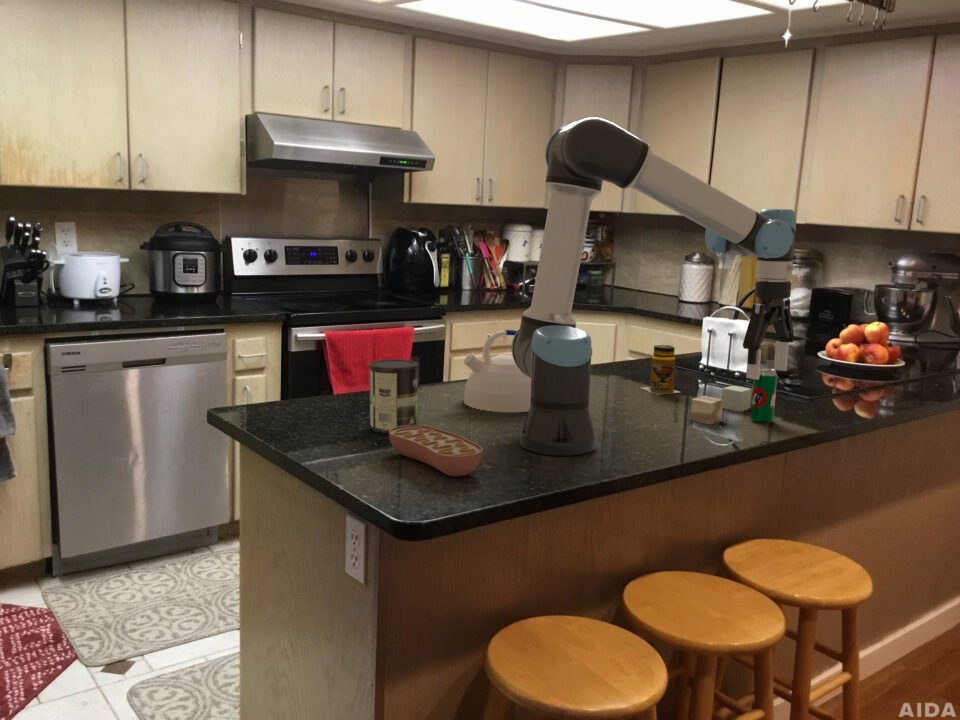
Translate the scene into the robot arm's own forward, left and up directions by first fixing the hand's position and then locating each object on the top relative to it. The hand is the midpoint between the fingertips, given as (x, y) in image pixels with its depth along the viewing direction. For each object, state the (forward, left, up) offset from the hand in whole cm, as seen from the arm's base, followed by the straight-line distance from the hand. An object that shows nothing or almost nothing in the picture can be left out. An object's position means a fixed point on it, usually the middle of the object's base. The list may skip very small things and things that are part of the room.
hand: (766, 374), depth 189 cm
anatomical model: (-77, +27, -11) cm, 82 cm away
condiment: (+10, +33, -11) cm, 36 cm away
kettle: (-31, +51, -11) cm, 61 cm away
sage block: (+7, +10, -11) cm, 16 cm away
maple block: (-9, +9, -11) cm, 17 cm away
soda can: (0, 0, -11) cm, 11 cm away
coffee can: (-66, +51, -11) cm, 84 cm away
